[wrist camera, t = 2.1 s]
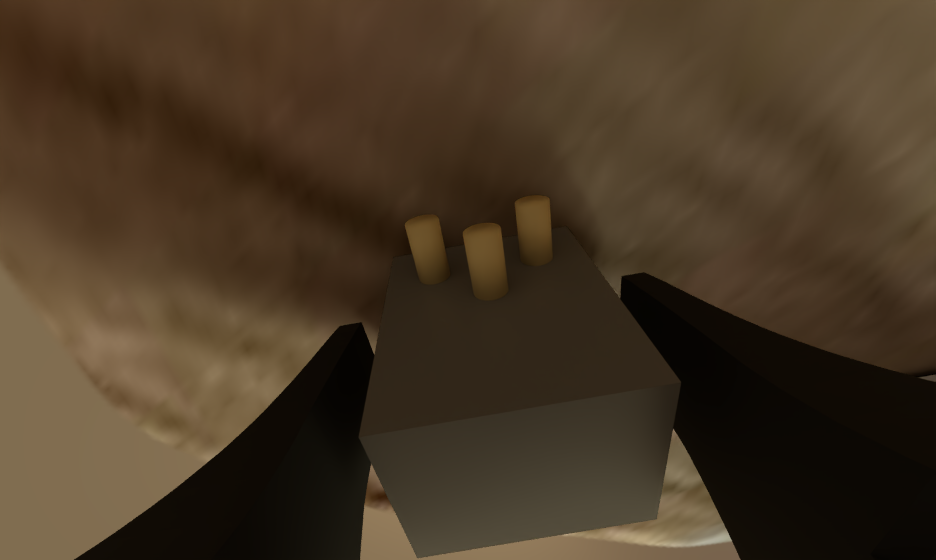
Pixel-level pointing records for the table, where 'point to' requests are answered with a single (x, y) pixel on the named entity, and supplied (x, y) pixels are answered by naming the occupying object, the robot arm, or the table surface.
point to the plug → (513, 390)
